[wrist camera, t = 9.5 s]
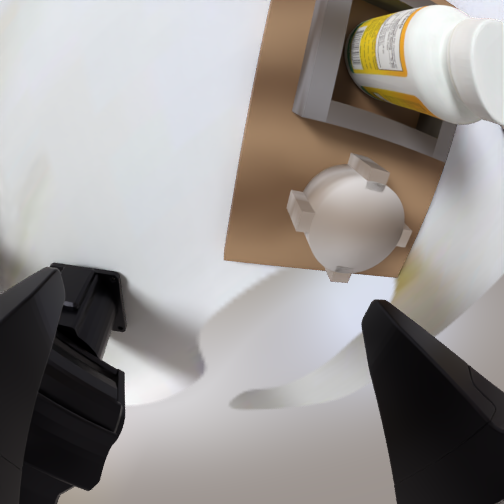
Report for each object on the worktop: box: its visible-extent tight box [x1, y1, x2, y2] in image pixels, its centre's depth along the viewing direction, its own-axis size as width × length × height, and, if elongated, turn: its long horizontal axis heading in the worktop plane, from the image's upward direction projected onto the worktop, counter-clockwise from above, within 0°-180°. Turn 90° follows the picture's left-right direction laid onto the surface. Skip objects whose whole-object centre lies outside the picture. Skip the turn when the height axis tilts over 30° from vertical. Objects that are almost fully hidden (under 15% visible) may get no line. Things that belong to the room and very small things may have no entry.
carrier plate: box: [224, 0, 458, 283], centre depth 15 cm, size 22×14×4 cm, turn 170°
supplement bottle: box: [344, 5, 504, 126], centre depth 9 cm, size 5×5×10 cm
